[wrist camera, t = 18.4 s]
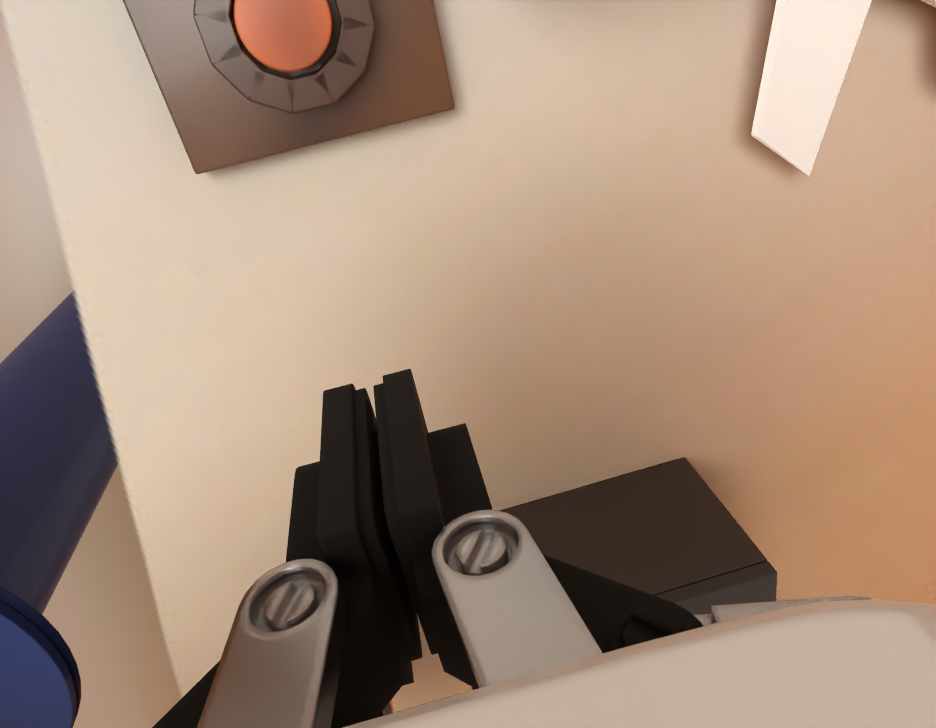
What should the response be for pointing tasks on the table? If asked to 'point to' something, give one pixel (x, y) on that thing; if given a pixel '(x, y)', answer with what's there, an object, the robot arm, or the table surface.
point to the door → (727, 589)
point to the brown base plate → (290, 77)
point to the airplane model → (805, 74)
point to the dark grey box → (642, 529)
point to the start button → (284, 31)
